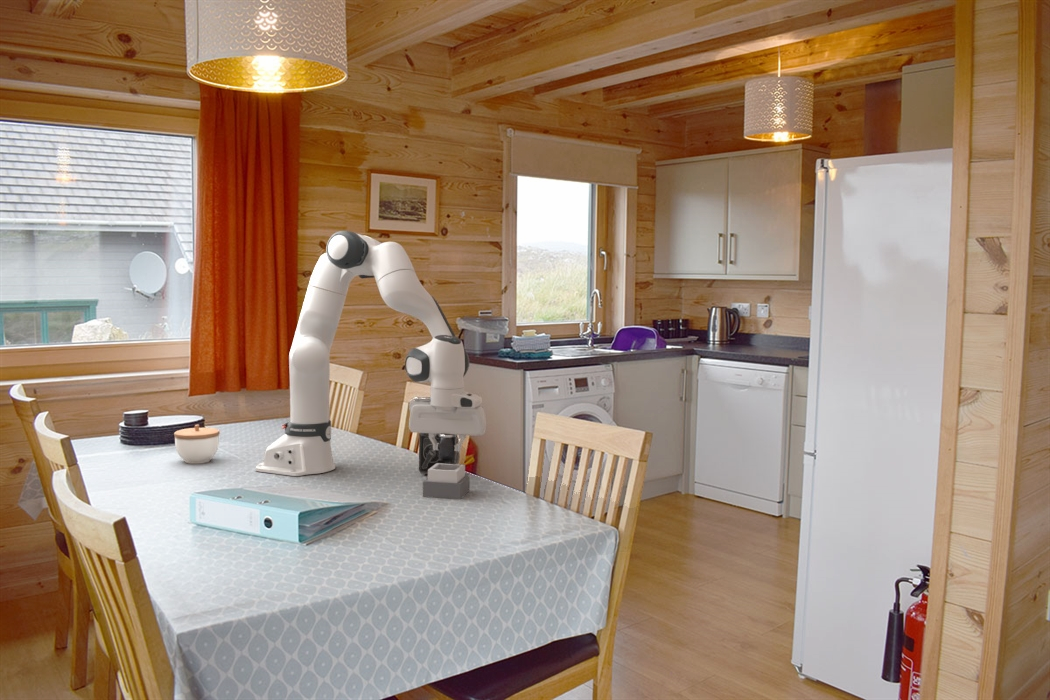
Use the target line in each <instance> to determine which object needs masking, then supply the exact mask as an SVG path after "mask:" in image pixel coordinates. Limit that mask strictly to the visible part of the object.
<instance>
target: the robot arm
mask: <svg viewBox="0 0 1050 700" xmlns="http://www.w3.org/2000/svg"><path fill="white" fill-rule="evenodd" d="M357 276H358V277H359V278H360V279H370V278H374V280H375V282H376V285H377V288H378V291H379V294H380V297H381V299H382V300H383V302H384V303H385V305H386V306H387V307H389V308H390V309H392V310H394V311H397V312H399V313H403V314H405V315H409V316H411V317H413V318H415V319H418V320H419V321H420V322H422V323H423V324H424V325H425V326H426V328H427V329H428V332H429V334H430V335H431V337H432V339H431V341H429V342H427V343H425V344H423V345H421V346H416V347H414V348H411V349H410V350H409V352H408V353H407V354H406V357H405V361H404V367H405V368H404V369H405V372H406V375H407V376H408V378H409V379H410V380H411V381H412V382H415V383H420V384H421V383H430V397H429V396H425V397H420V396H415V397H414V398H411V399H410V401H409V403H408V404H409V405H408V409H409V417H408V418H409V419H408V429H409V431H410V432H411V433H416V434H417V433H418V434H419V433H429V439H430V440H431V442H432V444H433V450H437V451H439V443H437V441H436V439H435V436H436V434H454V435H457V436H458V439H459V443H458V444H456V445H454V448H455V449H454V451H455V452H459V453H461V452H462V445H463V443H464V442H465V440H466V438H467V436H473V437H475V436H476V437H481V436H483V435H484V434H485V433H486V431H487V420H486V418H487V417H486V412H485V409H484V408H483V407H482V404H483V398H482V396H480V395H477V394H475V393H472V392H469V391H466V390H465V389H466V387H465V386H466V385H465V382H464V381H465V380H464V377H465V376H466V374H467V372H468V371H469V367H470V358H469V354H468V352H467V351H466V349H465V347H464V344H463V340H461V339H460V337H457V336H456V334H455V333H454V331H453V329H452V327H451V324H450V322H449V321H448V320H447V317H446V315H445V314H444V312H443V310H442V308H441V307H440V305H439V302H437V300H436V299H435V297H434V296H433V295H432V294H430V293H429V292H428V291H427V290H426V289H425V287H424V286H423V284H422V283H421V281H420V279H419V277H418V275H417V273H416V270H415V267H414V265H413V263H412V261H411V260H410V257H409V255H408V253H407V252H406V250H405V248H404V247H403V246H402V245H401V243H398V242H395V241H385V242H382V241H379V240H377V239H375V238H373V237H370V236H368V235H364V234H361V233H356V232H353V231H350V230H339V231H336V232H335V233H333V234H332V235H331V236H330V238H329V239H328V241H327V243H326V247H325V253H323V254H321V255H320V256H319V258H318V261H317V262H316V263H315V266H314V268H313V271H312V273H311V275H310V278H309V282H308V285H307V290H306V293H305V297H304V301H303V303H302V308H301V311H300V314H299V318H298V322H297V326H296V329H295V332H294V337H293V340H292V344H291V347H290V351H289V355H288V365H289V366H288V368H289V372H288V373H289V408H290V410H289V411H290V412H289V413H290V414H289V418H290V420H289V421H287V422H285V423H284V424H282V425H281V429H282V430H284V434H282V435H281V436H280V437H279V438H277V439H276V440H275V441H274V442H272V443H271V444H269V445H268V446H267V447H266V448H265V452H264V456H263V461H262V462H260V463H258V464H257V465H256V466H255V471H256V472H261V473H269V474H275V475H276V474H277V475H283V476H284V475H285V476H291V477H292V476H293V477H300V476H305V475H306V476H307V475H317V474H321V473H328V472H331V471H333V470H335V469H336V465H335V461H334V457H333V453H332V452H333V451H332V445H331V439H332V421H331V419H330V379H331V377H330V373H331V372H330V369H331V368H330V366H331V365H330V364H331V362H330V361H331V360H330V359H331V357H330V354H331V351H332V350H331V349H332V346H333V344H334V340H335V335H336V333H337V330H338V327H339V324H340V320H341V318H342V317H341V316H342V313H343V309H344V305H345V302H346V300H347V299H346V298H347V295H348V292H349V291H348V290H349V287H350V283H351V282H352V281H353V279H354V278H356V277H357Z"/></svg>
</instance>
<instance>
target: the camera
mask: <svg viewBox="0 0 1050 700" xmlns="http://www.w3.org/2000/svg"><path fill="white" fill-rule="evenodd" d="M435 439H436V441H437V443H439V434H436V436H435ZM459 441H460V439H459V436H458V435H456V444H458V443H459ZM460 453H461V452H456V460H454V461H440V460H439V451H437V450H433V444H432V442H431V440H430V439H429V433H418V471H419V472H418V473H420V474H422V476H425V475H428V469H430V468H431V467H432V466H434V465H435V464H436V463H443V464H460V458H461V455H460Z"/></svg>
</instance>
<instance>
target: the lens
mask: <svg viewBox="0 0 1050 700" xmlns="http://www.w3.org/2000/svg"><path fill="white" fill-rule="evenodd" d="M454 445H456V435H454V434H439V460H440V461H454V460H456V452H455V451H454V449H455V448H454Z"/></svg>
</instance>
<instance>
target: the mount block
mask: <svg viewBox="0 0 1050 700" xmlns="http://www.w3.org/2000/svg"><path fill="white" fill-rule="evenodd" d="M469 491H470V475H468V474H467V475H466V465H465V464H460V463H458V464H443V463H436V464H435V465H434V466H432V467H431V468H430V469H428V474H427V477H426V478H425V479H424V480H423V481H422V498H423V497H424V498H435V499H448V500H449V499H451V500H461V499H462V498H464V497H465V496H466V494H467V493H468V492H469Z"/></svg>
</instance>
